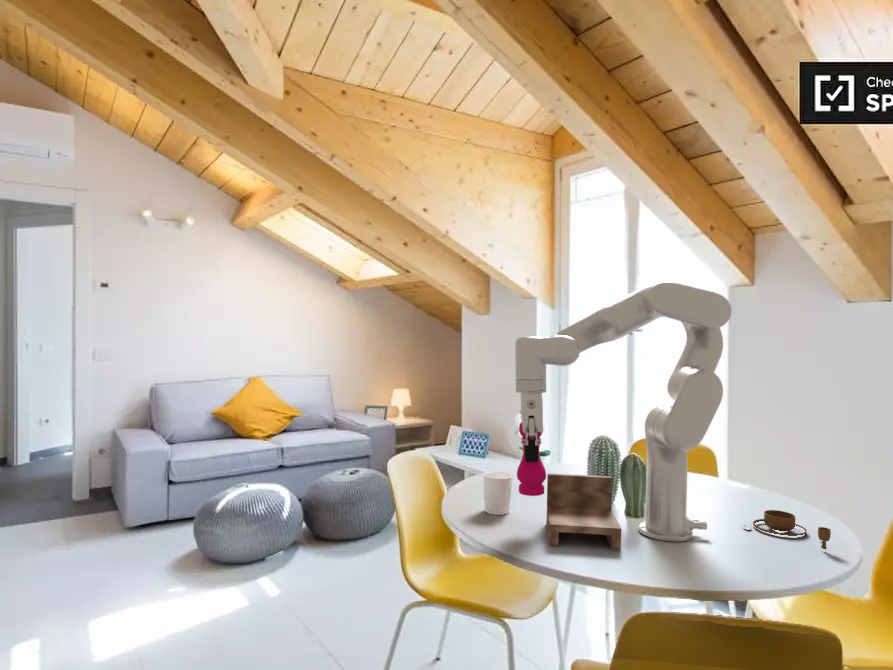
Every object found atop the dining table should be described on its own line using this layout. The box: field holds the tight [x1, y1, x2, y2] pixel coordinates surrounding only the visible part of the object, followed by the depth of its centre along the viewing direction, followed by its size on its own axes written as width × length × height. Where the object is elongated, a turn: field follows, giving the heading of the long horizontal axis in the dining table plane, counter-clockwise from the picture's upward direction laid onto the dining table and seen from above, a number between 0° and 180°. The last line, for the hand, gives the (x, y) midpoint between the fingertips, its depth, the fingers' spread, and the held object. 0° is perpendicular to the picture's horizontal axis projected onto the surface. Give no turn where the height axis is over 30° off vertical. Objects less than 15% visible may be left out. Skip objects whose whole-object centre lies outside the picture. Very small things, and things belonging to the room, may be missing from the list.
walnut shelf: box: [545, 472, 622, 551], centre depth 144 cm, size 16×16×13 cm
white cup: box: [482, 471, 513, 516], centre depth 162 cm, size 8×8×10 cm
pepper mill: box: [516, 421, 547, 497], centre depth 147 cm, size 7×7×20 cm
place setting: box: [752, 509, 832, 550], centre depth 147 cm, size 18×20×6 cm
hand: (531, 458), depth 147 cm, fingers closed on pepper mill, 5 cm apart
